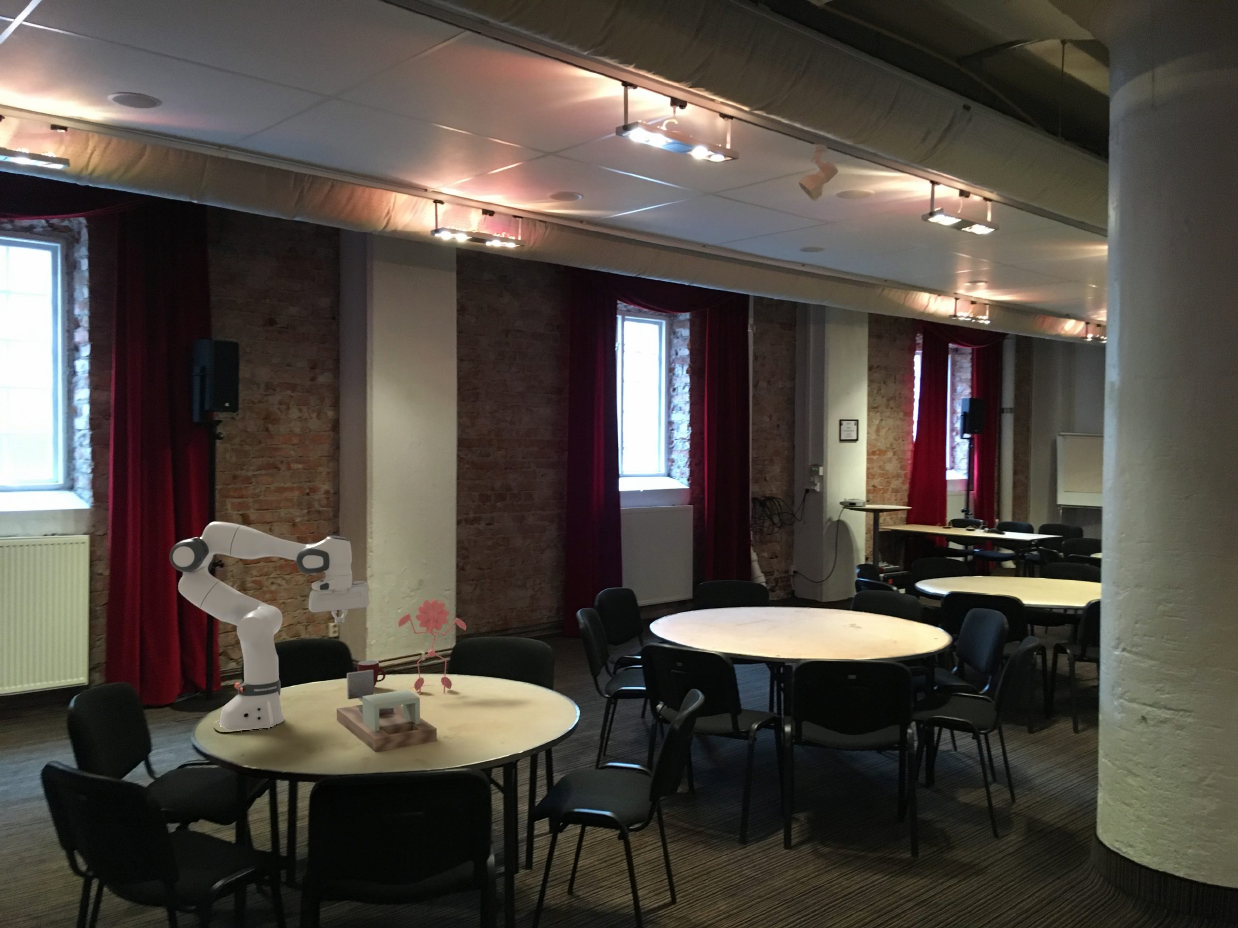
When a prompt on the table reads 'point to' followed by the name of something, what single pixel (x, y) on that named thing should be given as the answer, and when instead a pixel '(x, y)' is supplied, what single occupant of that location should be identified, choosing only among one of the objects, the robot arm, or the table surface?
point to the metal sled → (362, 688)
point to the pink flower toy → (432, 618)
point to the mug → (371, 666)
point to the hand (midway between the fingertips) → (339, 622)
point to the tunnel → (388, 700)
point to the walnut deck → (387, 729)
